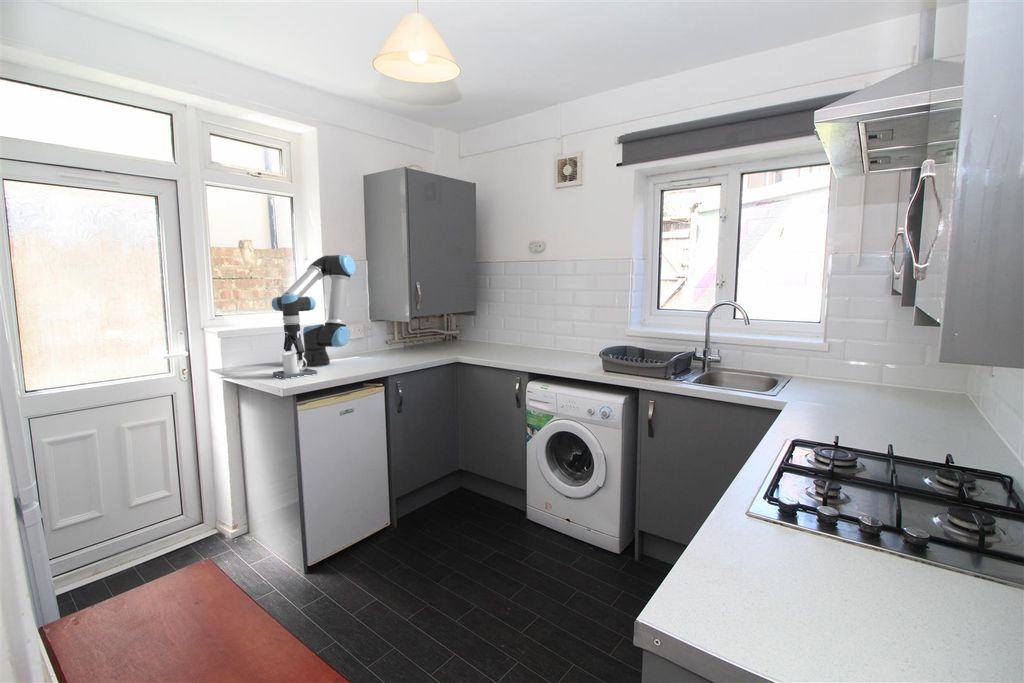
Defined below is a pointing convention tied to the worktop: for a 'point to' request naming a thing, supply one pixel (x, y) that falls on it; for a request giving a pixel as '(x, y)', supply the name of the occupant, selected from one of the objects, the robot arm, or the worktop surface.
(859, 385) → the worktop surface
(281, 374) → the holder tray
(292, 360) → the mug
